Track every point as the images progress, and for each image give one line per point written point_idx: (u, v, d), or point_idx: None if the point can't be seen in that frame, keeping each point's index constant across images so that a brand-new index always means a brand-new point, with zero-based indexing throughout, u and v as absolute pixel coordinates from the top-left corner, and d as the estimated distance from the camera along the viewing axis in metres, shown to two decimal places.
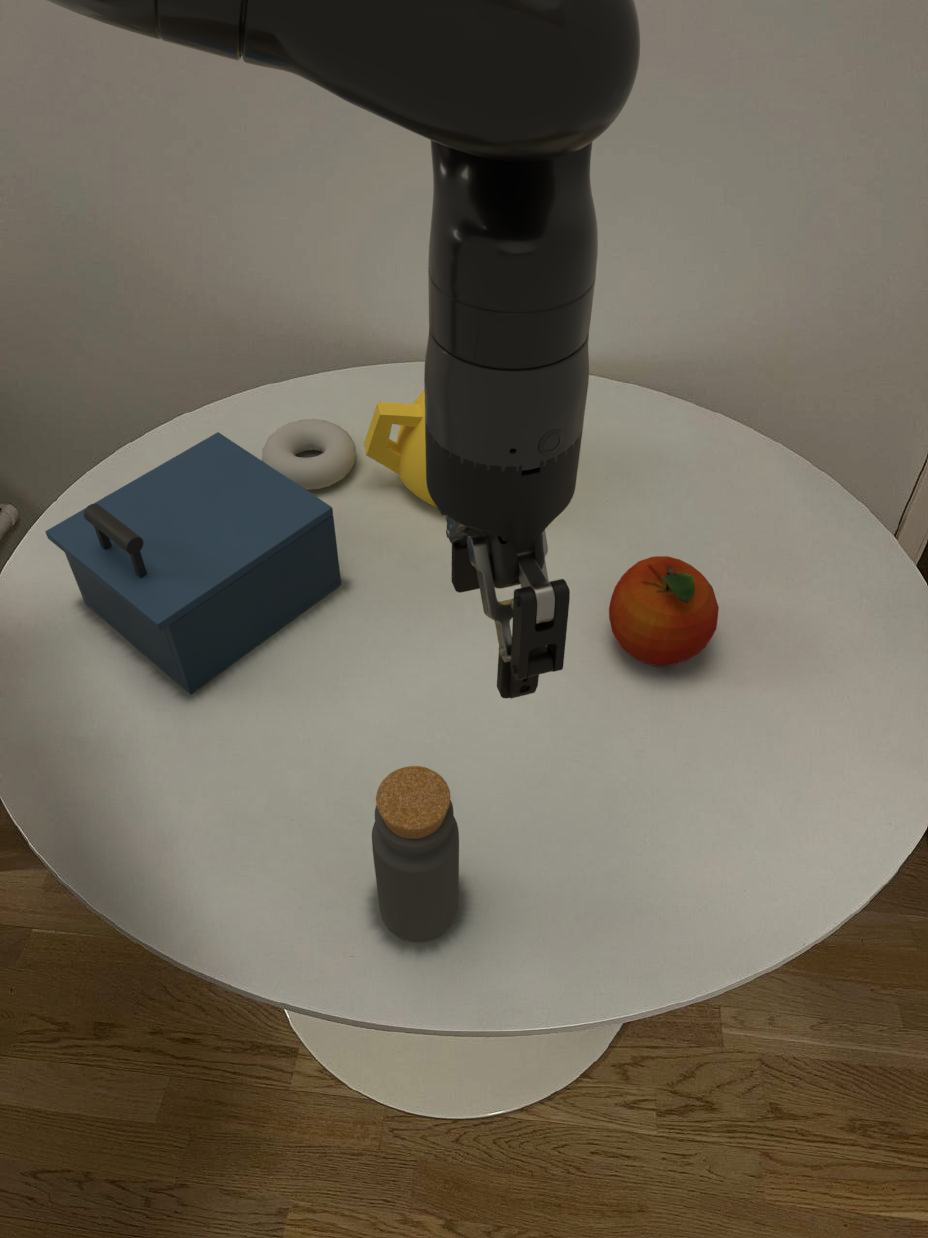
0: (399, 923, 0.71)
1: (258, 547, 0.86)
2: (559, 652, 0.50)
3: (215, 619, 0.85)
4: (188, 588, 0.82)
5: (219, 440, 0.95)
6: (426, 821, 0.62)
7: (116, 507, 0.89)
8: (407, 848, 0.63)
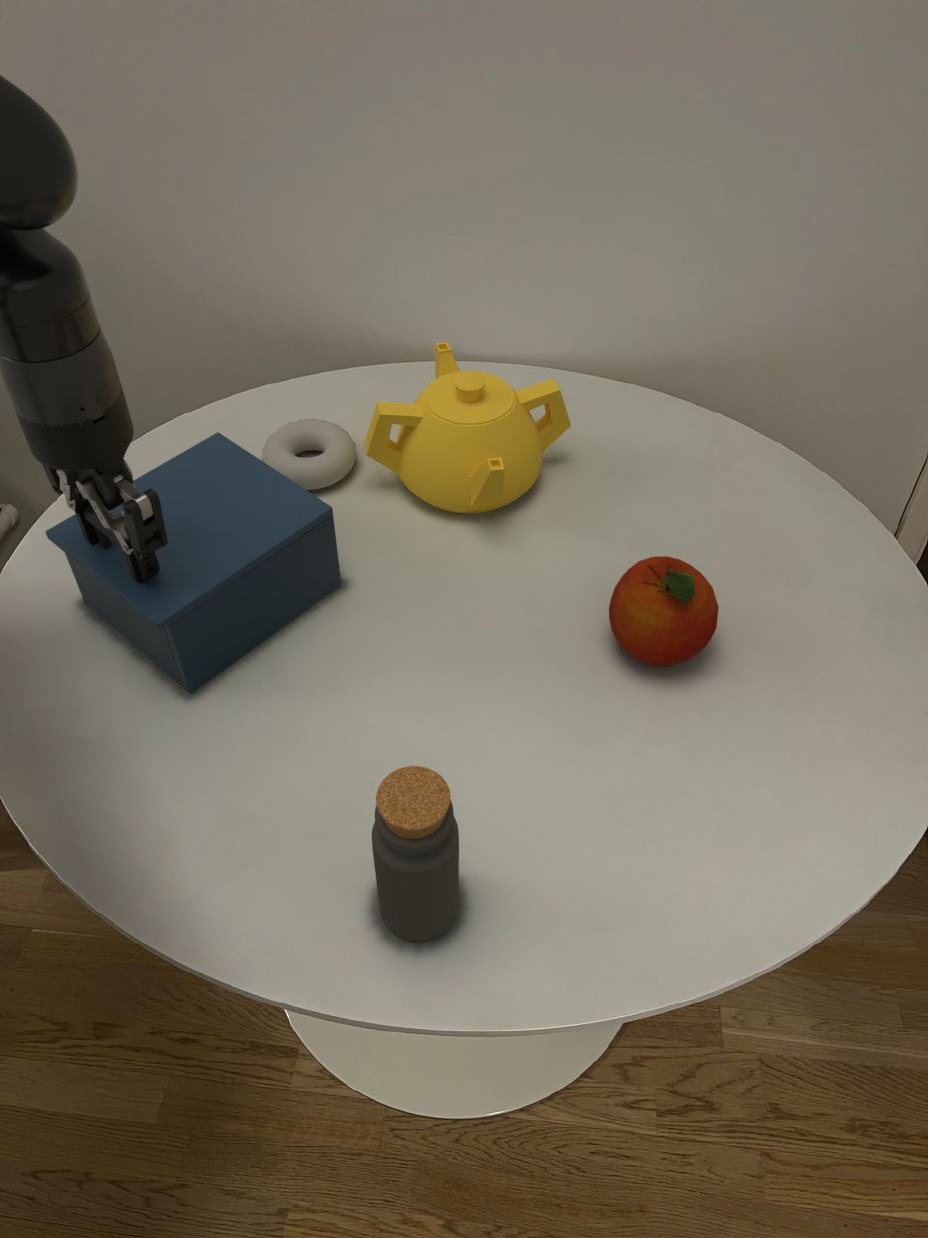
0: (399, 923, 0.71)
1: (258, 547, 0.86)
2: (163, 533, 0.77)
3: (215, 619, 0.85)
4: (188, 588, 0.82)
5: (219, 440, 0.95)
6: (426, 821, 0.62)
7: (116, 507, 0.89)
8: (407, 848, 0.63)
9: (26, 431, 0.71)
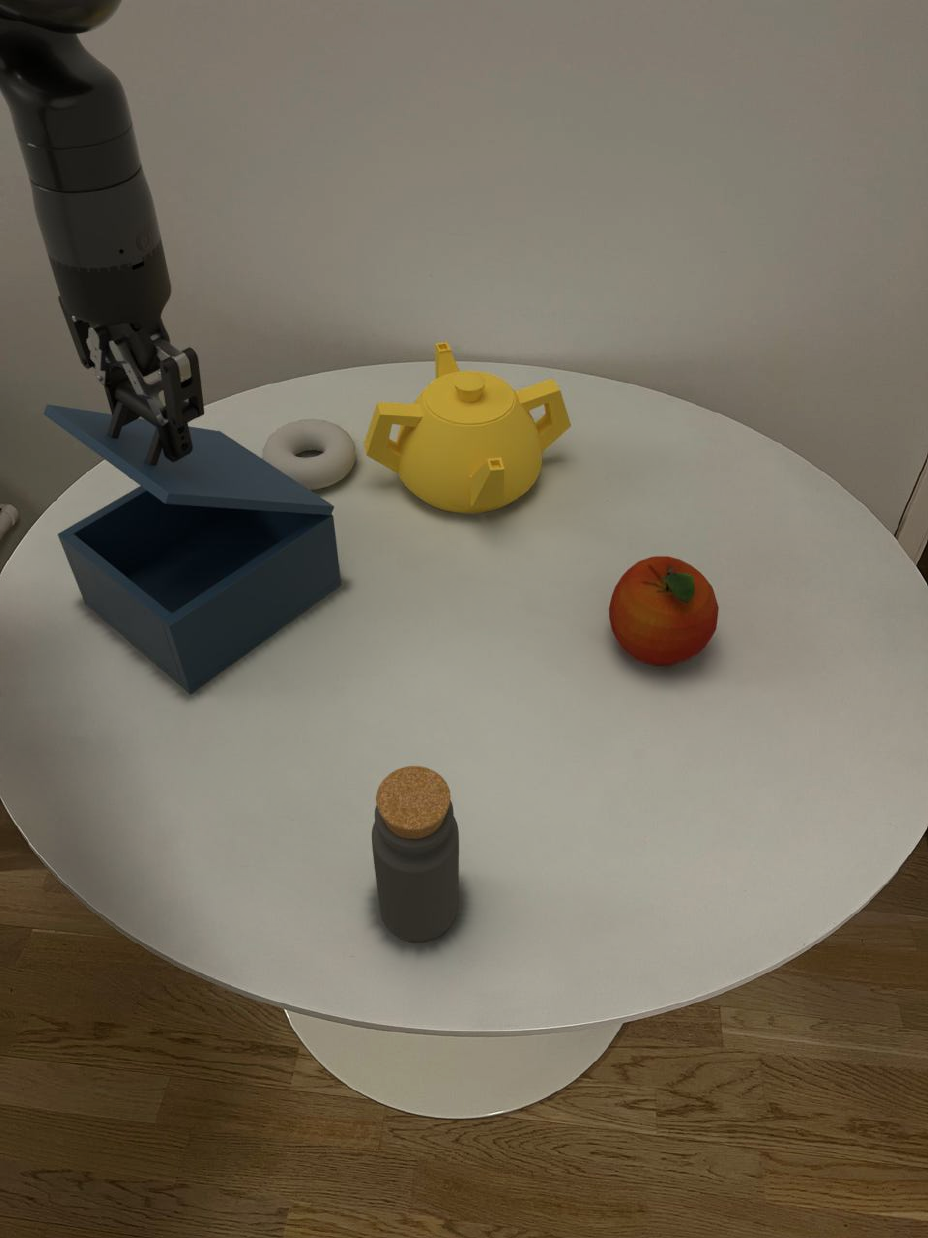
0: (399, 923, 0.71)
1: (267, 496, 0.83)
2: (200, 401, 0.73)
3: (215, 619, 0.85)
4: (199, 488, 0.77)
5: (222, 435, 0.95)
6: (426, 821, 0.62)
7: None
8: (407, 848, 0.63)
9: (60, 278, 0.67)
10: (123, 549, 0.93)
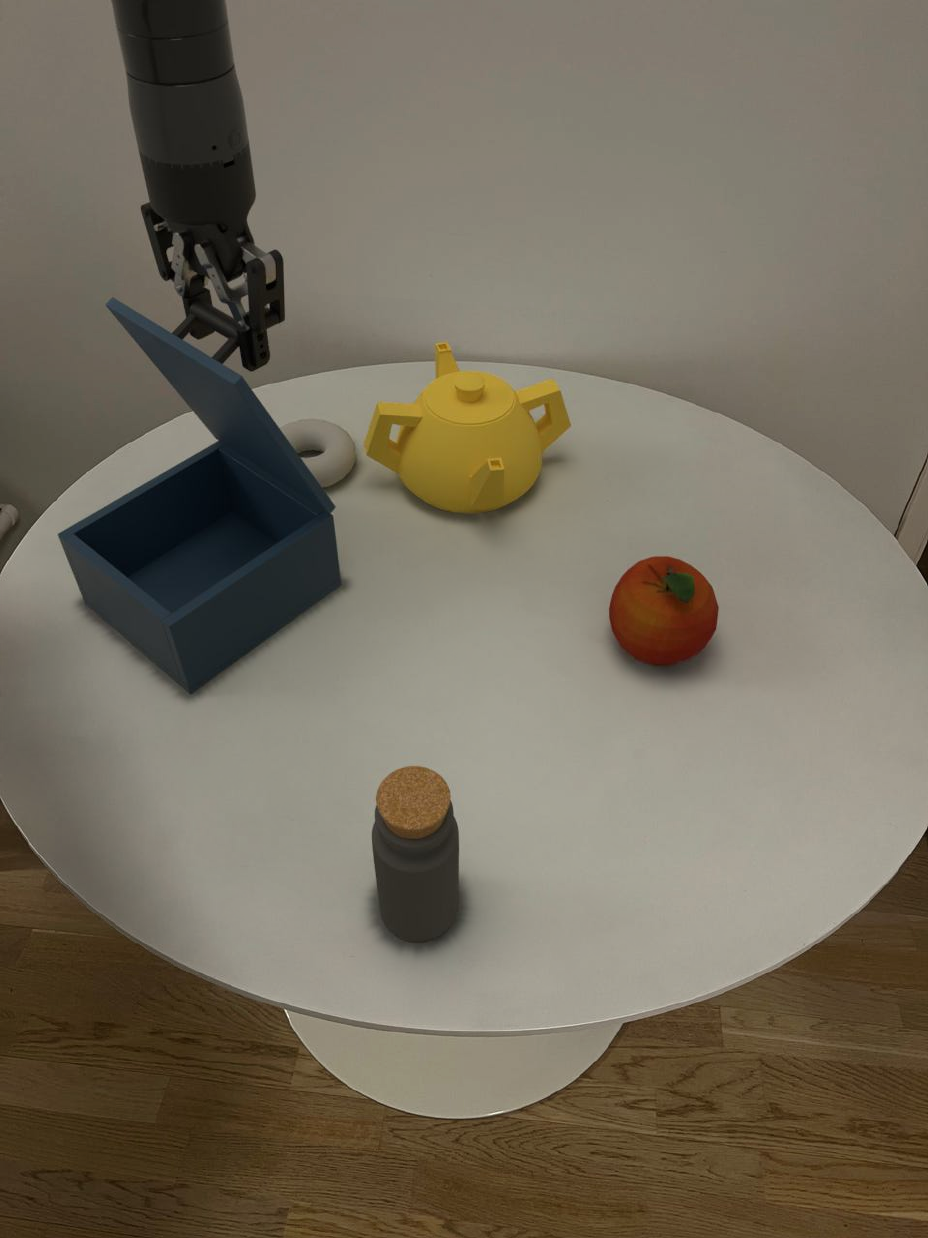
0: (399, 923, 0.71)
1: None
2: (282, 306, 0.75)
3: (215, 619, 0.85)
4: None
5: None
6: (426, 821, 0.62)
7: None
8: (407, 848, 0.63)
9: (152, 177, 0.68)
10: (123, 549, 0.93)
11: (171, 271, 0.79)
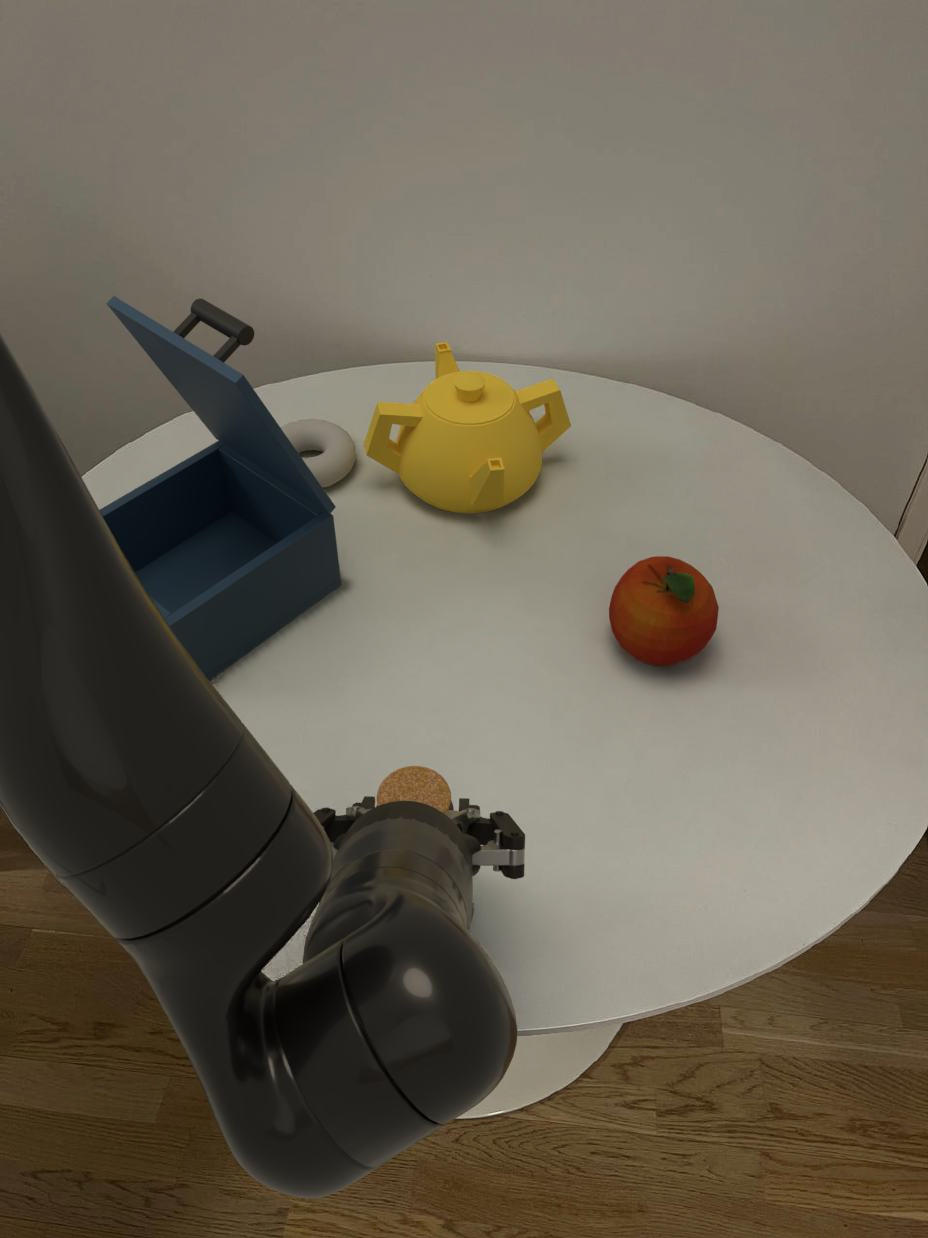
0: None
1: None
2: None
3: (215, 619, 0.85)
4: None
5: None
6: None
7: None
8: None
9: (402, 812, 0.53)
10: (123, 549, 0.93)
11: (491, 822, 0.63)
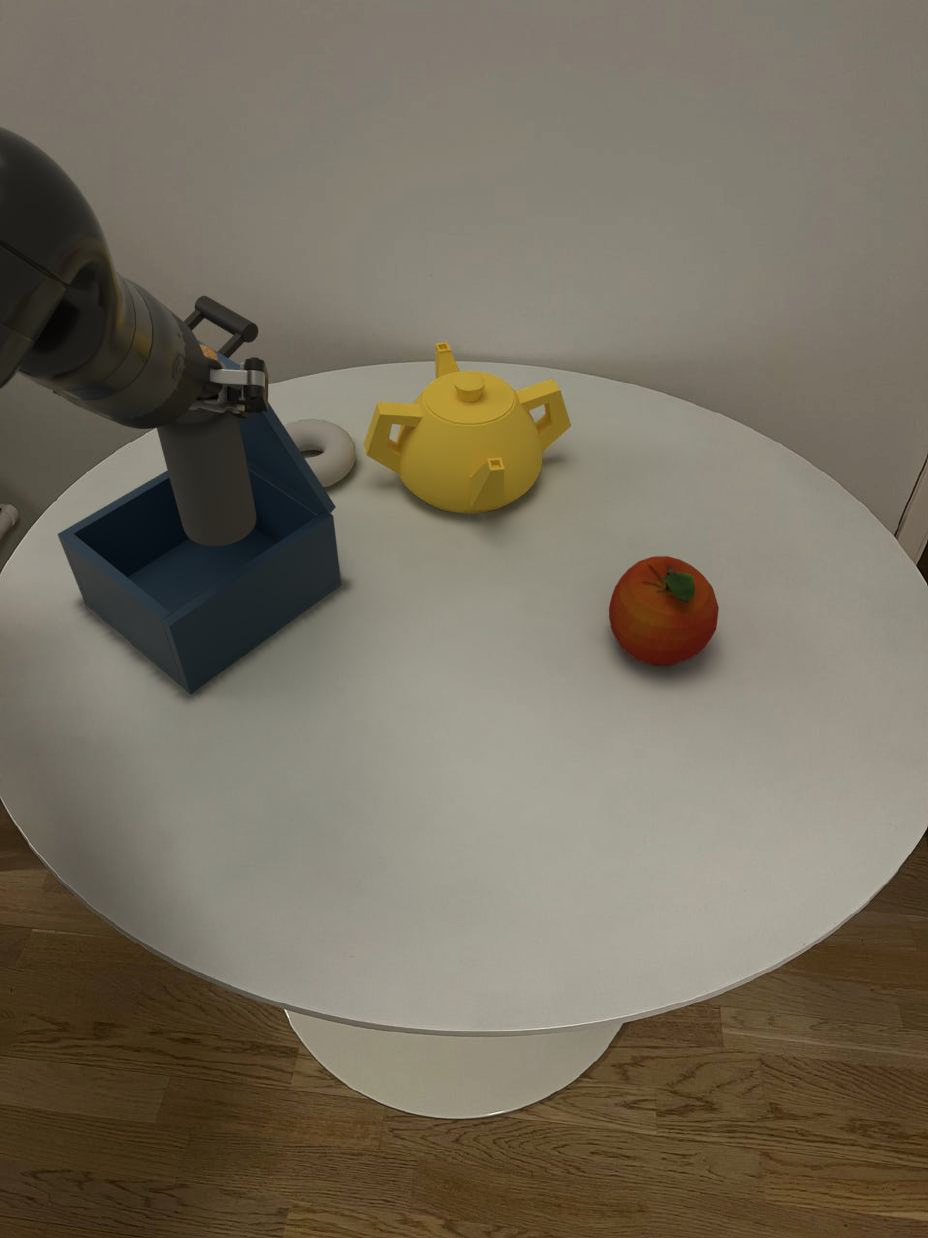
0: (192, 520, 0.77)
1: None
2: None
3: (215, 619, 0.85)
4: None
5: None
6: None
7: None
8: None
9: None
10: (123, 549, 0.93)
11: None
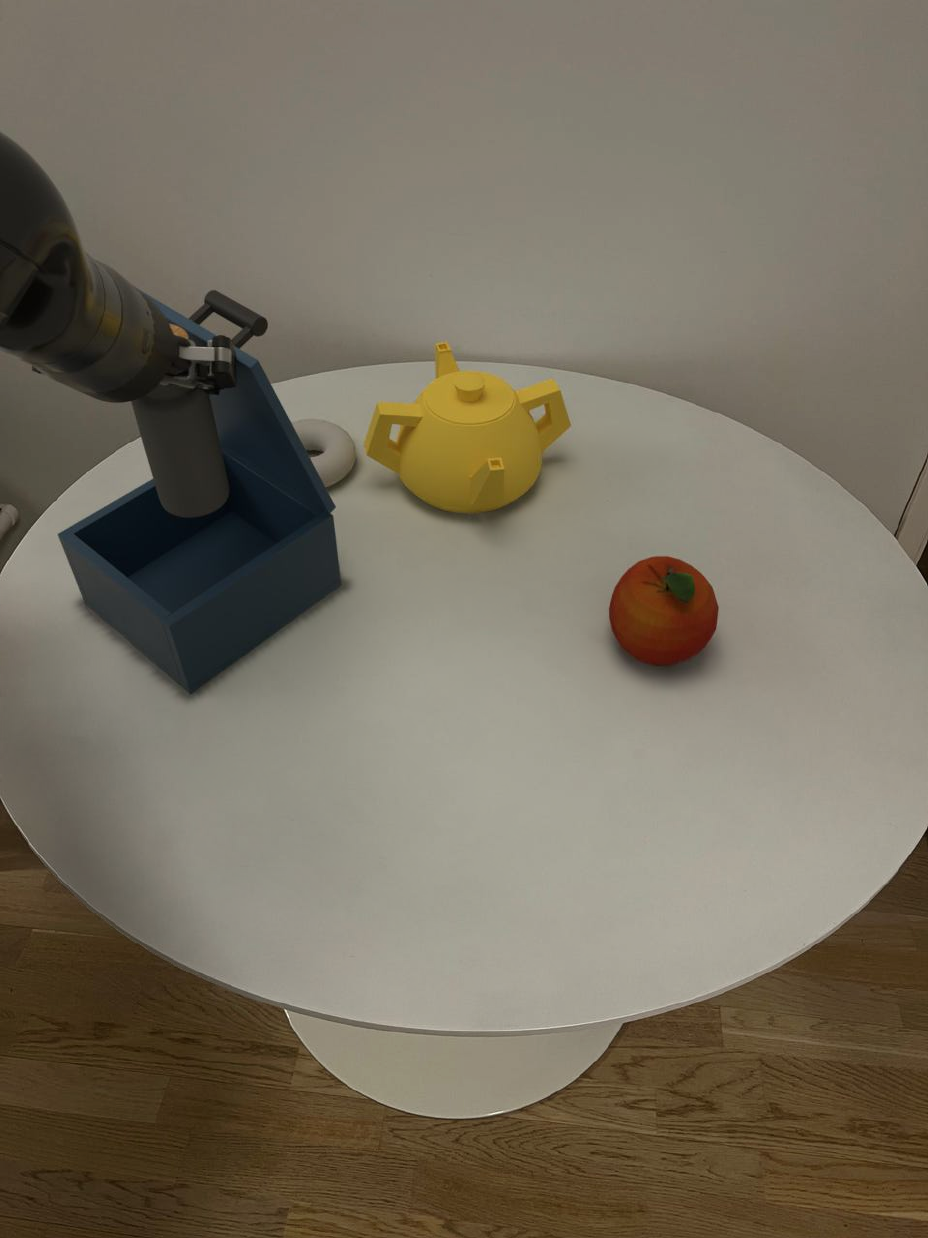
0: (167, 492, 0.81)
1: None
2: None
3: (215, 619, 0.85)
4: None
5: None
6: None
7: None
8: None
9: None
10: (123, 549, 0.93)
11: None
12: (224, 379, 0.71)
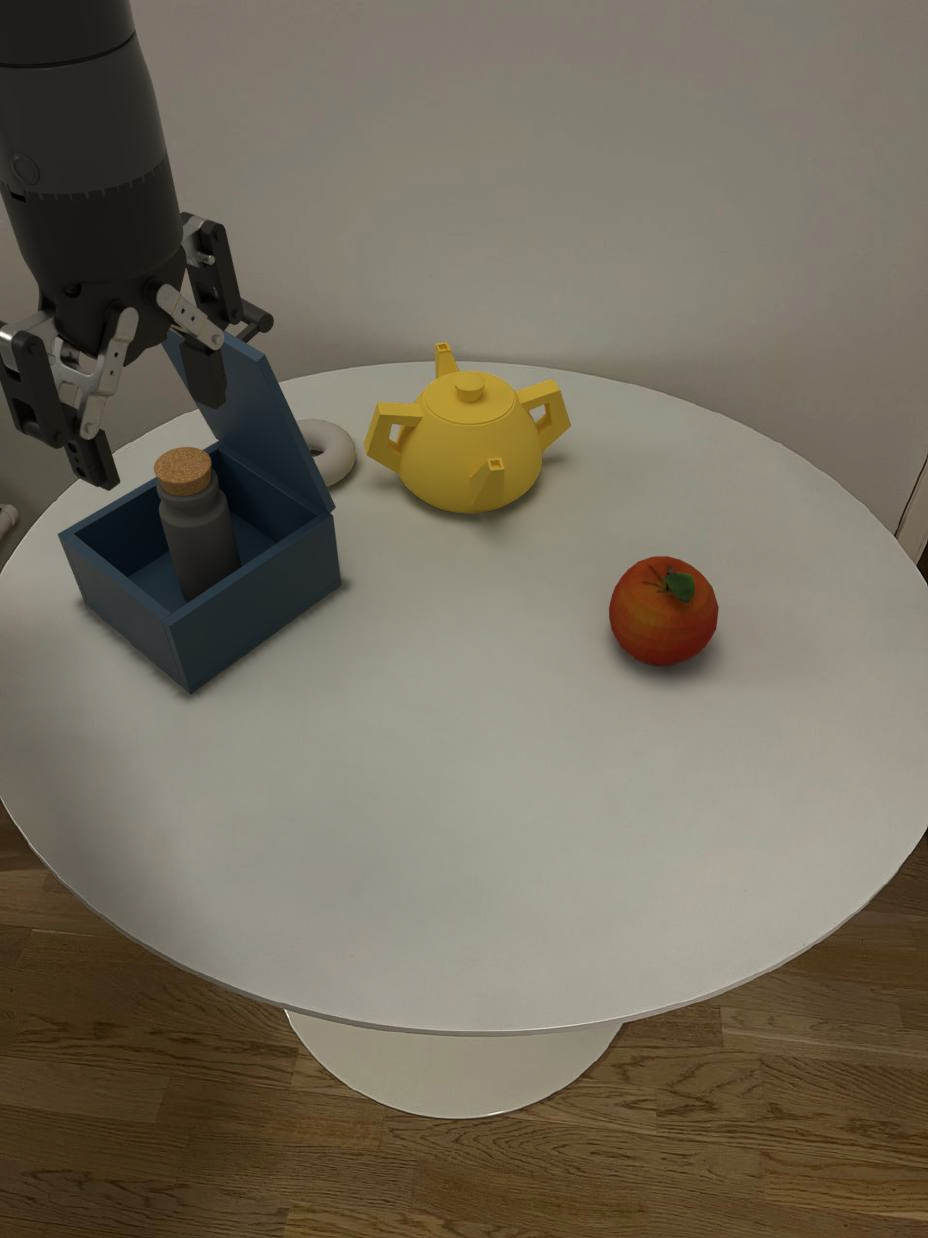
0: (190, 590, 0.91)
1: None
2: (39, 421, 0.48)
3: (215, 619, 0.85)
4: None
5: None
6: (188, 477, 0.82)
7: None
8: (177, 503, 0.83)
9: None
10: (123, 549, 0.93)
11: (204, 305, 0.56)
12: (227, 272, 0.54)
